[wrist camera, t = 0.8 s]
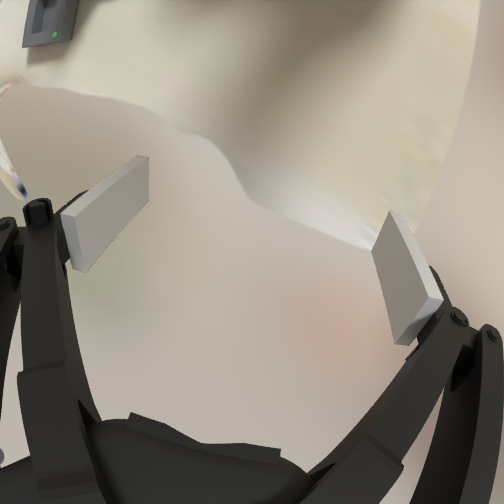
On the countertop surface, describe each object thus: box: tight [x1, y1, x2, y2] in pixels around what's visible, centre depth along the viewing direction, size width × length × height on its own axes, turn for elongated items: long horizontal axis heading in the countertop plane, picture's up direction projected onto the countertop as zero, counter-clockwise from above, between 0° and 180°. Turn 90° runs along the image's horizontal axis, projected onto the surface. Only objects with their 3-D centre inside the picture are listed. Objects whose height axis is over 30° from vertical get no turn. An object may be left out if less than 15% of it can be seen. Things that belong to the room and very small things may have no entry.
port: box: [22, 0, 78, 48], centre depth 26 cm, size 12×10×3 cm
